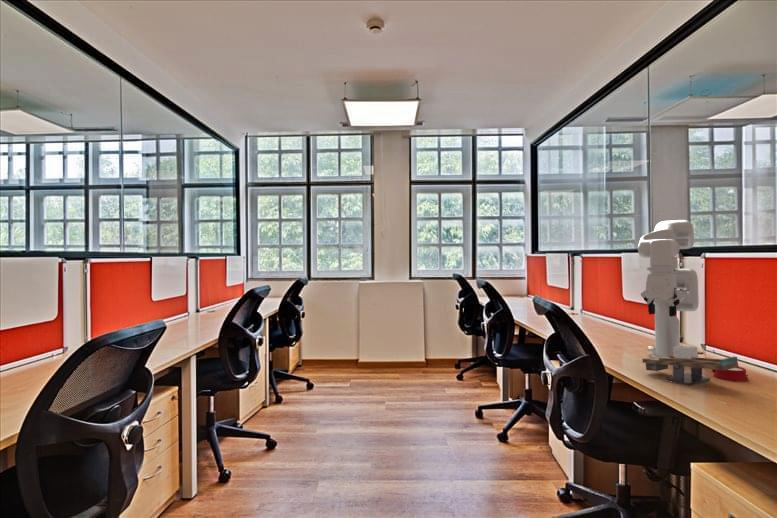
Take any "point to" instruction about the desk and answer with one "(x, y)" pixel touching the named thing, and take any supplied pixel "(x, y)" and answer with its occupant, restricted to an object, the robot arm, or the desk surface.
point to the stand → (687, 376)
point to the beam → (689, 363)
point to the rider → (685, 353)
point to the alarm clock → (731, 374)
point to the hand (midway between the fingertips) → (662, 314)
